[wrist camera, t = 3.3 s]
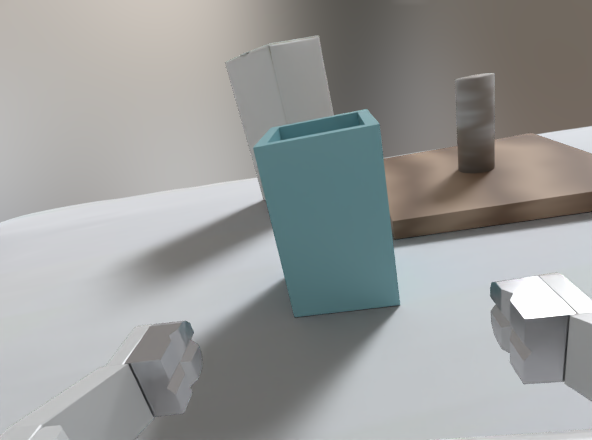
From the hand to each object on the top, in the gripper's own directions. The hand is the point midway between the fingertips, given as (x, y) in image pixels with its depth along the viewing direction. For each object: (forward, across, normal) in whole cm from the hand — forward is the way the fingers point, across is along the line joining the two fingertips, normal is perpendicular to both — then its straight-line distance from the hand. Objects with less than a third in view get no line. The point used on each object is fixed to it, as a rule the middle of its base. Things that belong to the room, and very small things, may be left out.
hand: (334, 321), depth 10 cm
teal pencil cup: (+12, 0, +6) cm, 14 cm away
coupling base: (+26, -13, +6) cm, 30 cm away
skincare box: (+31, +4, +7) cm, 32 cm away
